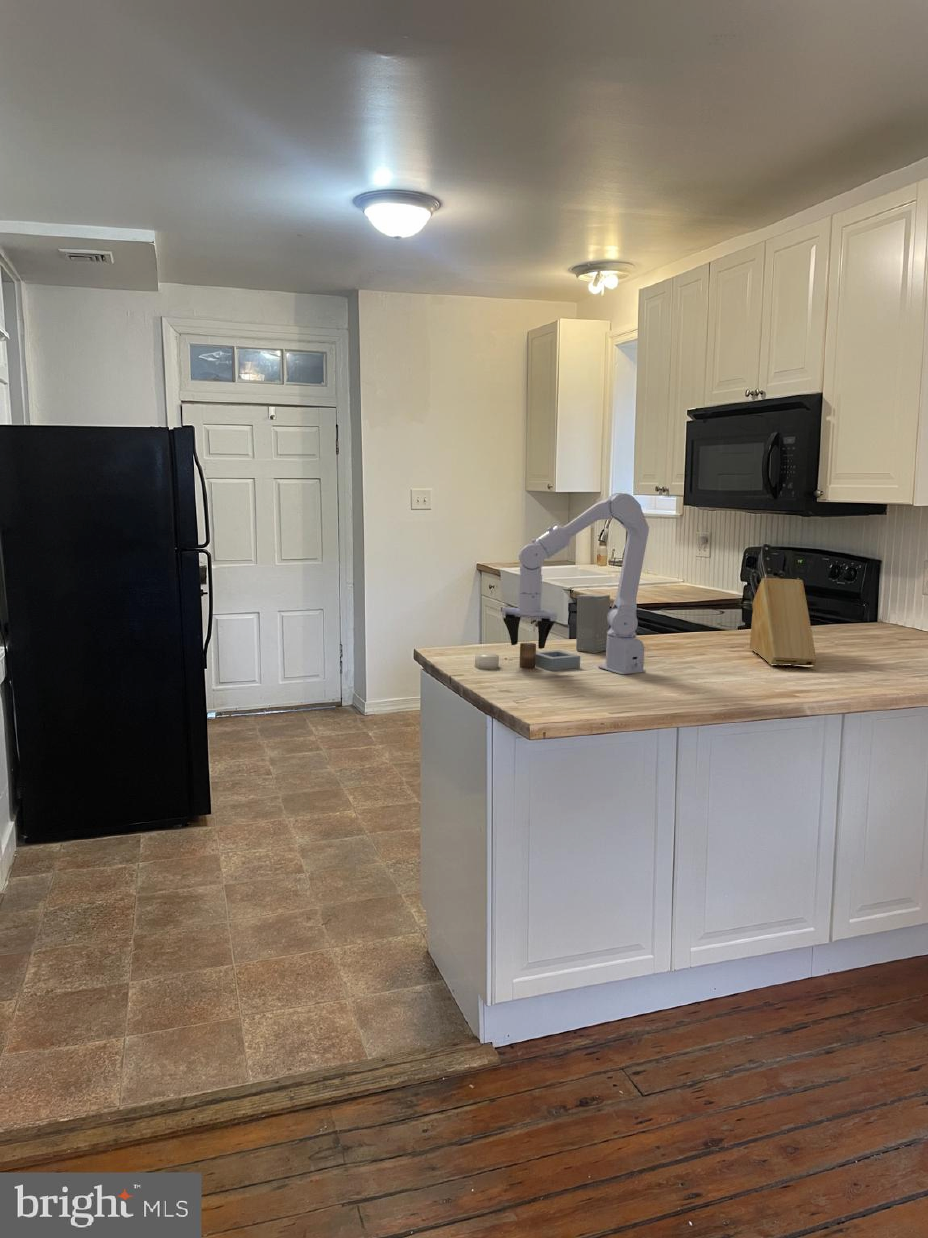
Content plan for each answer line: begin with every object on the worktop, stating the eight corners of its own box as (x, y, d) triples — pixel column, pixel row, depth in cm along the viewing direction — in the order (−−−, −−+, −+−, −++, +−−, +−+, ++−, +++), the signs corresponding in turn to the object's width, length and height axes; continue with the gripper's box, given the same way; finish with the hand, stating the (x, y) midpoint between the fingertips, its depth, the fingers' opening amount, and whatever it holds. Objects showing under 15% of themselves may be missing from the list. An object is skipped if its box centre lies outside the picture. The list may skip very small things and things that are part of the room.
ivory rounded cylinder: (503, 668, 225) (503, 656, 225) (483, 670, 222) (483, 658, 221) (490, 663, 230) (490, 652, 230) (470, 665, 227) (470, 653, 226)
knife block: (780, 646, 265) (789, 541, 260) (816, 671, 230) (827, 551, 225) (742, 645, 266) (749, 540, 261) (771, 669, 231) (781, 549, 226)
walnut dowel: (538, 668, 225) (539, 644, 225) (525, 669, 223) (526, 645, 223) (529, 665, 229) (530, 642, 228) (516, 666, 227) (517, 643, 226)
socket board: (579, 667, 227) (580, 656, 227) (550, 670, 223) (551, 658, 222) (558, 661, 235) (559, 649, 234) (530, 664, 230) (530, 652, 230)
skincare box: (595, 654, 246) (598, 596, 244) (573, 650, 250) (575, 594, 248) (610, 649, 253) (613, 594, 250) (588, 646, 257) (590, 591, 254)
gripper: (563, 593, 223) (560, 647, 225) (511, 588, 230) (509, 640, 232) (551, 596, 217) (548, 651, 219) (498, 591, 224) (496, 644, 226)
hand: (527, 646), depth 225 cm, fingers open, 7 cm apart
